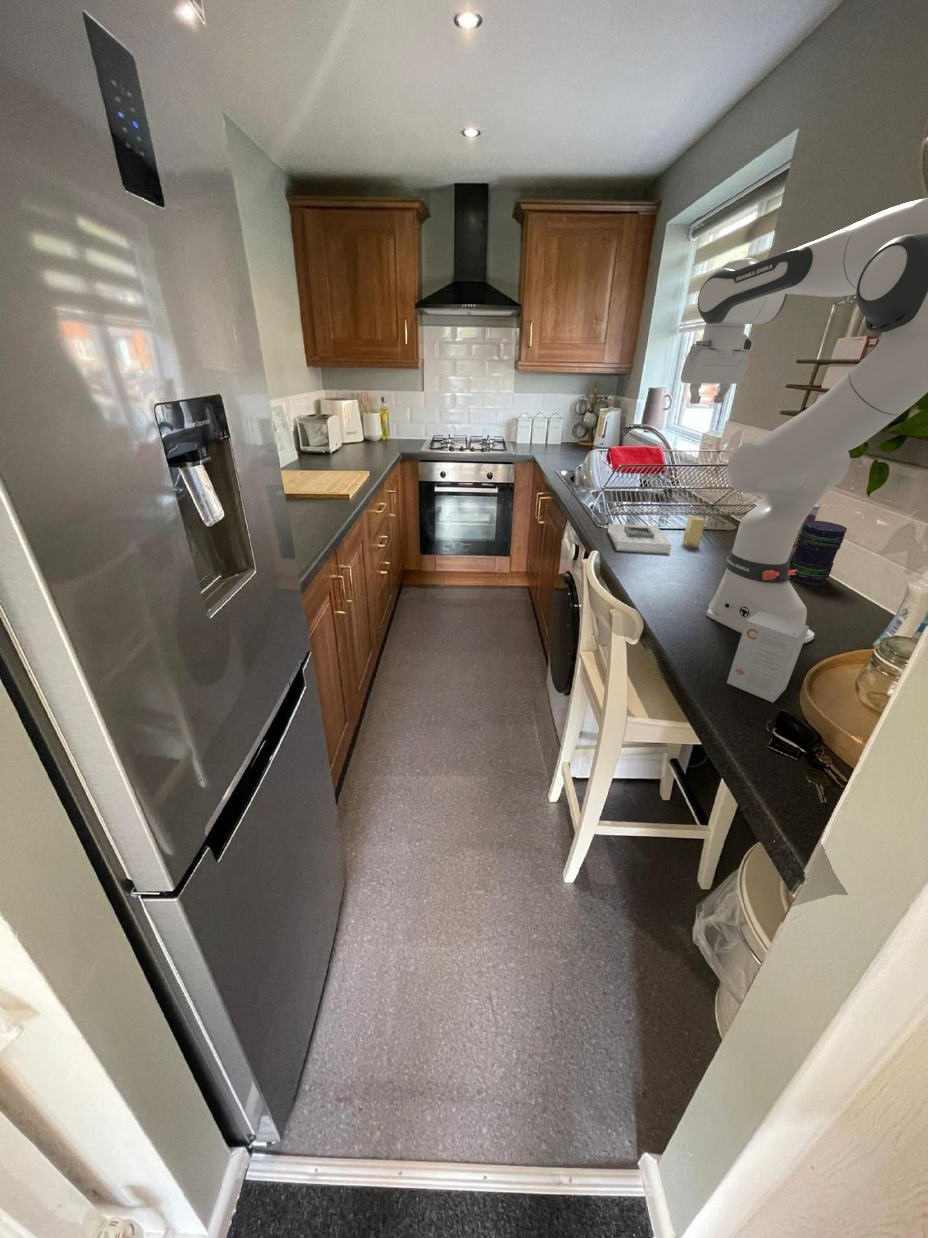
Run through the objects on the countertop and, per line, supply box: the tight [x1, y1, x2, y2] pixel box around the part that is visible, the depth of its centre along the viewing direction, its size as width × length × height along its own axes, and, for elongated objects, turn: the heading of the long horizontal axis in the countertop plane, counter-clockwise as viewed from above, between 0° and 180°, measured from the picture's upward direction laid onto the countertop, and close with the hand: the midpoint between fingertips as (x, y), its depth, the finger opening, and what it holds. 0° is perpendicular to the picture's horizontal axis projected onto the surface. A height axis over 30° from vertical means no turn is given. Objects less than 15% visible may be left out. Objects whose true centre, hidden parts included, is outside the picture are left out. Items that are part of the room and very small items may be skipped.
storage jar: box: [789, 520, 848, 586], centre depth 134 cm, size 10×10×15 cm
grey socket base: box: [607, 523, 673, 555], centre depth 161 cm, size 20×16×4 cm
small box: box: [726, 611, 810, 703], centre depth 86 cm, size 8×6×13 cm
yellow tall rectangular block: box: [682, 515, 706, 549], centre depth 158 cm, size 4×4×9 cm
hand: (706, 403), depth 127 cm, fingers open, 8 cm apart
